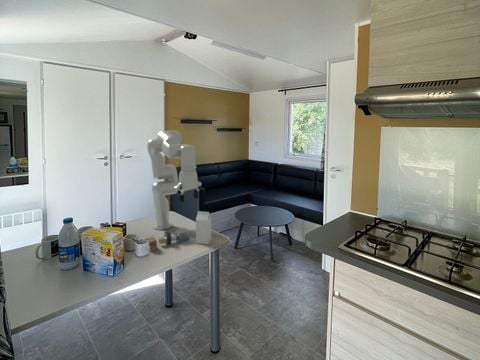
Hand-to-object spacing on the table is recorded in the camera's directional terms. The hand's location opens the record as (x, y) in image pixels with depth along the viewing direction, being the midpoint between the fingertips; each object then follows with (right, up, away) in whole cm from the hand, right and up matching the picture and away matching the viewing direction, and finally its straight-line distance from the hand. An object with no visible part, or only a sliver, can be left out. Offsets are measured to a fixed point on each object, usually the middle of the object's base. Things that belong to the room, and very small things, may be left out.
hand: (189, 199), depth 150 cm
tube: (-12, -27, +15) cm, 33 cm away
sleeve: (-8, -26, +18) cm, 33 cm away
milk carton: (+6, -27, +17) cm, 32 cm away
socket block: (-23, -28, +7) cm, 37 cm away
